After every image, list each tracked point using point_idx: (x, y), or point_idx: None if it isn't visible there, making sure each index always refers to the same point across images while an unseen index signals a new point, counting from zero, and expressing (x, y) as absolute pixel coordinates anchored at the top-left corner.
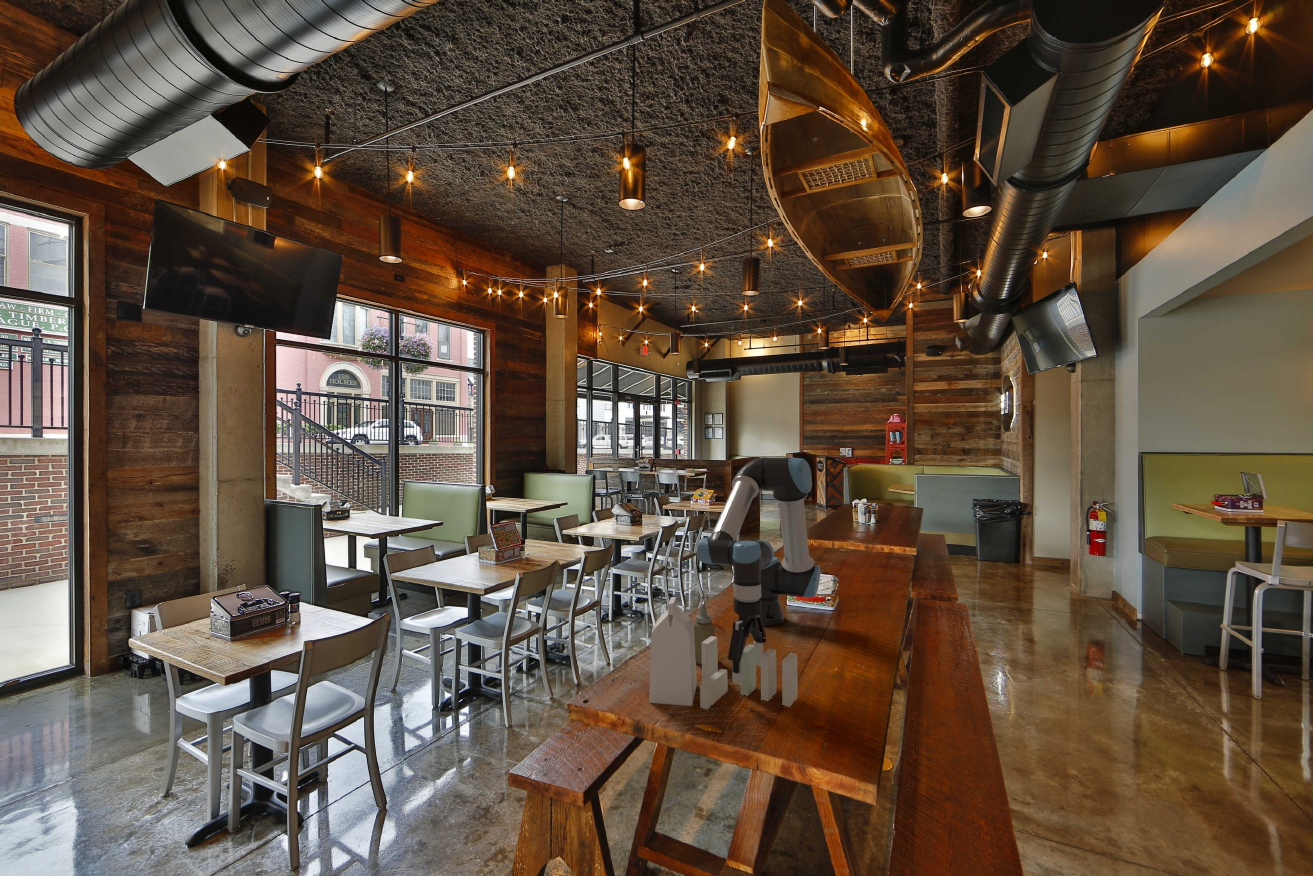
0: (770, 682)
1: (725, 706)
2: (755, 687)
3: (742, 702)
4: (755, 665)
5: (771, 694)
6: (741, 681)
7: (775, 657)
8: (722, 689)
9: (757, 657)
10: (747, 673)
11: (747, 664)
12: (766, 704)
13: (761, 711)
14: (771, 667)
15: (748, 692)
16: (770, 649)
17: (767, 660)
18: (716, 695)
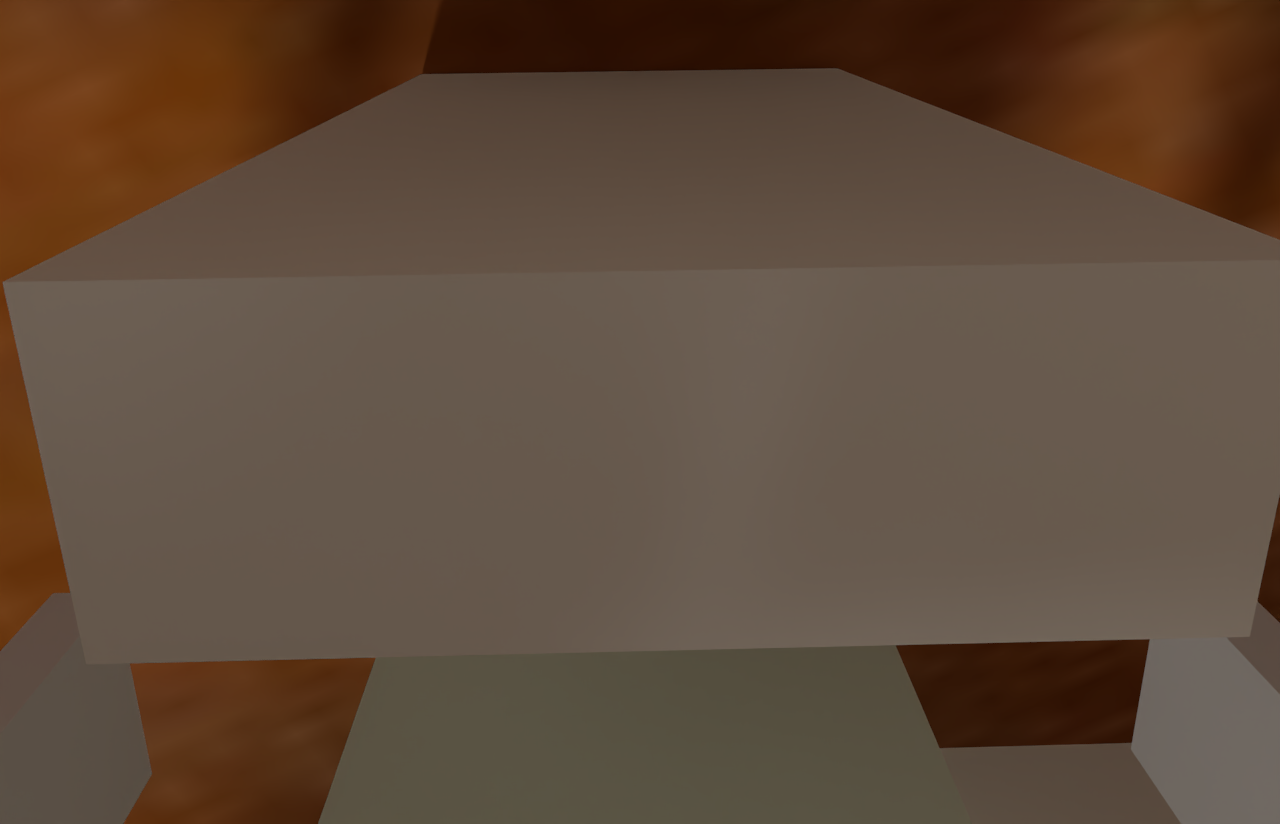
0: (751, 101)
1: (1268, 580)
2: None
3: None
4: (402, 689)
5: (676, 76)
6: (1270, 616)
7: (239, 201)
8: (993, 811)
9: (42, 818)
10: (888, 666)
11: (941, 817)
12: (930, 59)
13: (1215, 32)
14: (699, 154)
15: None
16: (180, 557)
17: (1229, 235)
18: None
